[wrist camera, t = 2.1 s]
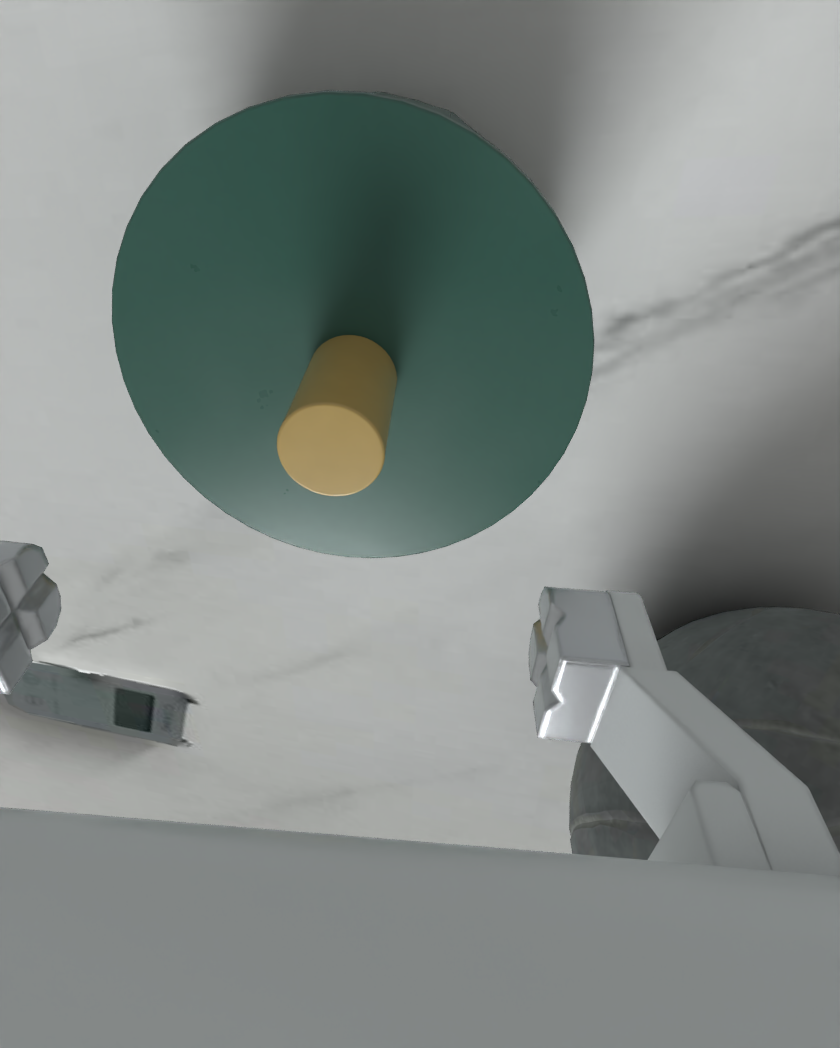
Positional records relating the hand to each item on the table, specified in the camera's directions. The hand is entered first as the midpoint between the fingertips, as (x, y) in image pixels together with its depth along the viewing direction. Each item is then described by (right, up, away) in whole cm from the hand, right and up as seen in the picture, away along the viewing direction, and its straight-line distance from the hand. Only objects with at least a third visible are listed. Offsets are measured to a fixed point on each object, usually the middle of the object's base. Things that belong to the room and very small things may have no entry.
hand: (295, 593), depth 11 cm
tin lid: (0, +5, +7) cm, 9 cm away
